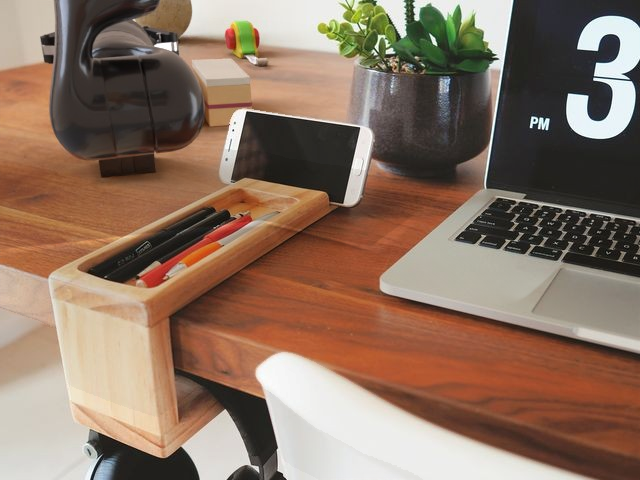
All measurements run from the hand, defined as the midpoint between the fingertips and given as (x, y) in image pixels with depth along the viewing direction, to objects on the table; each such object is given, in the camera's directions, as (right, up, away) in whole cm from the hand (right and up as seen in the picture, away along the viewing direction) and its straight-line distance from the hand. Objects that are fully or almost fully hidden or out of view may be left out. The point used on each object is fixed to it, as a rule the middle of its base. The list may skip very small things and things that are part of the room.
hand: (108, 32), depth 80 cm
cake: (+4, -3, +25) cm, 26 cm away
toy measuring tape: (+5, +17, +65) cm, 68 cm away
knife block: (+1, -14, +4) cm, 15 cm away
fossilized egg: (-16, +25, +81) cm, 86 cm away
